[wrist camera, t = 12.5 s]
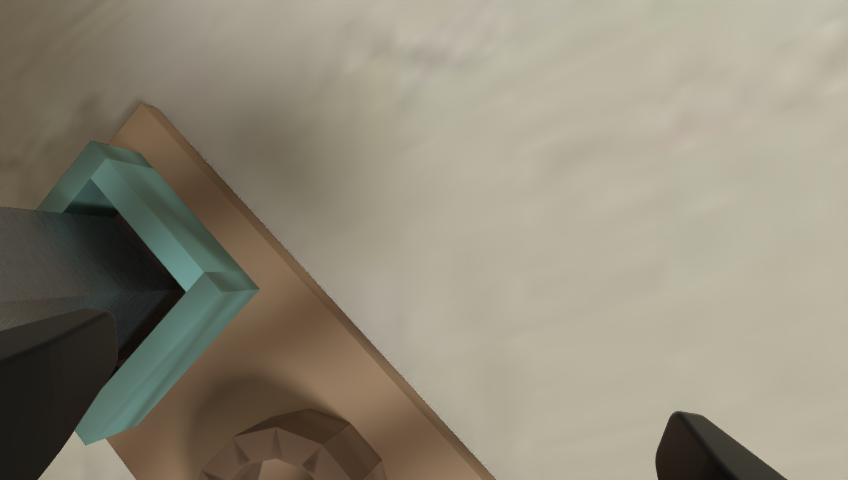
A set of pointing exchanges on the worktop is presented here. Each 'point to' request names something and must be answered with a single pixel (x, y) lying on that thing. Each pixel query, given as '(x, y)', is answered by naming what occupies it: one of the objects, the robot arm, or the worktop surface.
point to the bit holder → (241, 341)
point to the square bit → (81, 272)
